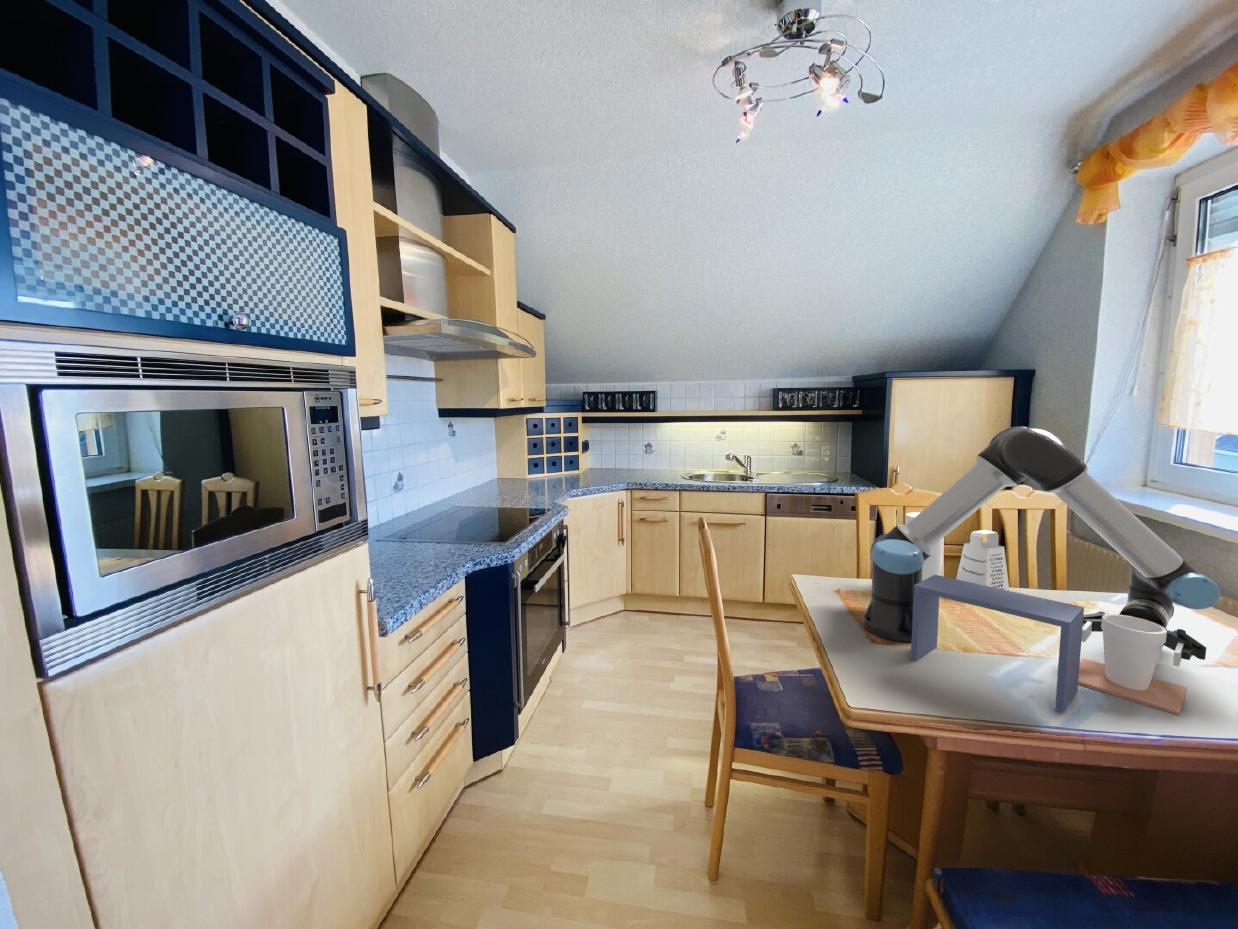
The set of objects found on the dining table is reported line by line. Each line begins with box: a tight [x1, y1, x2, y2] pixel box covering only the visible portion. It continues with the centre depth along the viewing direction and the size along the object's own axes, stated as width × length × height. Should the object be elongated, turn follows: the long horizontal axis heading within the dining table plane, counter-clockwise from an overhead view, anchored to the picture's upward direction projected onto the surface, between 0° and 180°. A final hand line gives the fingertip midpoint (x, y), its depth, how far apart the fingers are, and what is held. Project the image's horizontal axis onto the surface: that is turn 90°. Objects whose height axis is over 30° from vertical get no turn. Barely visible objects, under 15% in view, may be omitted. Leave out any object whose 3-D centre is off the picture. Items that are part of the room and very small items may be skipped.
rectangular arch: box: [910, 575, 1085, 714], centre depth 109 cm, size 27×12×18 cm, turn 37°
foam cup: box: [1101, 613, 1167, 690], centre depth 104 cm, size 10×9×13 cm
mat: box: [1078, 657, 1188, 716], centre depth 105 cm, size 16×14×1 cm
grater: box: [955, 529, 1010, 591], centre depth 159 cm, size 10×10×20 cm
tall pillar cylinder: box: [904, 511, 945, 581], centre depth 162 cm, size 11×11×25 cm
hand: (1127, 647), depth 102 cm, fingers open, 13 cm apart
